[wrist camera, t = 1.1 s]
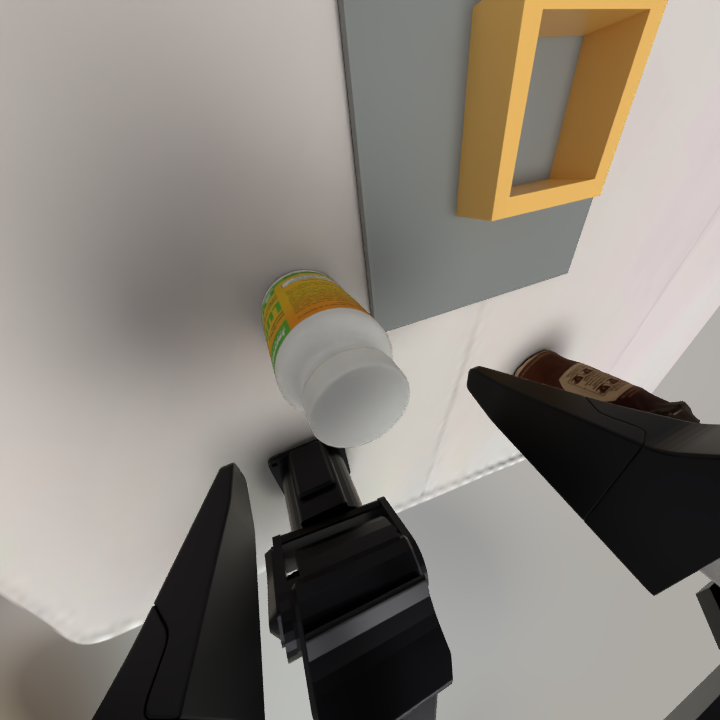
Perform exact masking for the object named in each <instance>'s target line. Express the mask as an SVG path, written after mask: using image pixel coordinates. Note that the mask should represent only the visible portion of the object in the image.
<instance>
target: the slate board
mask: <svg viewBox="0 0 720 720" xmlns="http://www.w3.org/2000/svg"><path fill="white" fill-rule="evenodd" d="M480 1H482V0H338V7H339V16H340V26H341V35H342V44H343V54H344V63H345V73H346V82H347V92H348V101H349V111H350V120H351V130H352V139H353V149H354V158H355V168H356V177H357V187H358V196H359V205H360V215H361V224H362V234H363V243H364V253H365V262H366V272H367V281H368V291H369V300H370V310H371V316H372V317H373V318H374V319H375V320H376V321H377V322H378V323H379V324H380V326H381V327H382V328H383V329H384V331H385V332H387V331H390V330H393V329H396V328H399V327H402V326H405V325H408V324H411V323H415V322H418V321H421V320H424V319H427V318H430V317H433V316H436V315H439V314H442V313H446V312H449V311H452V310H455V309H458V308H461V307H464V306H467V305H470V304H473V303H476V302H480V301H483V300H486V299H489V298H492V297H495V296H498V295H501V294H504V293H507V292H511V291H514V290H517V289H520V288H523V287H526V286H529V285H532V284H535V283H538V282H542V281H545V280H548V279H551V278H554V277H557V276H560V275H563V274H566V273H568V271H569V268H570V265H571V262H572V259H573V256H574V253H575V250H576V247H577V244H578V241H579V238H580V235H581V232H582V229H583V226H584V223H585V220H586V217H587V214H588V211H589V208H590V205H591V202H592V199H593V197H592V198H587V199H583V200H579V201H575V202H571V203H566V204H562V205H558V206H554V207H550V208H545V209H541V210H537V211H533V212H529V213H524V214H520V215H516V216H512V217H508V218H503V219H499V220H495V221H486V220H480V219H473V218H467V217H461V216H456V210H457V198H458V185H459V173H460V160H461V148H462V136H463V123H464V111H465V98H466V86H467V74H468V61H469V49H470V36H471V24H472V12H473V6H475V5H476V4H478V3H479V2H480ZM583 38H584V36H563V37H538V40H537V45H536V51H535V57H534V62H533V68H532V73H531V79H530V85H529V90H528V96H527V101H526V107H525V113H524V118H523V124H522V129H521V135H520V141H519V146H518V152H517V157H516V163H515V169H514V174H513V180H512V186H517V185H522V184H527V183H532V182H537V181H542V180H547V179H549V177H550V173H551V169H552V164H553V160H554V156H555V152H556V148H557V144H558V140H559V136H560V132H561V128H562V124H563V119H564V115H565V111H566V107H567V103H568V99H569V95H570V91H571V87H572V83H573V79H574V74H575V70H576V66H577V62H578V58H579V54H580V50H581V46H582V42H583ZM512 186H511V187H512Z"/></svg>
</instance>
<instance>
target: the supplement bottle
mask: <svg viewBox="0 0 720 720" xmlns="http://www.w3.org/2000/svg"><path fill="white" fill-rule="evenodd" d="M261 318H262V324H263V328H264V332H265V336H266V340H267V344H268V349H269V353H270V357H271V361H272V365H273V369H274V373H275V377H276V380H277V383H278V386H279V389H280V391H281V393H282V395H283V397H284V398H285V399H286V400H287V402H288V403H289V404H290V405H291V406H293V407H294V408H295V409H297V410H298V411H300V412H302V413H304V414H306V417H307V420H308V423H309V425H310V428H311V430H312V432H313V434H314V435H315V436H316V437H317V439H318V440H320V441H321V442H323V443H324V444H326V445H329V446H332V447H338V448H350V447H356V446H360V445H363V444H366V443H368V442H371V441H373V440H375V439H376V438H378V437H380V436H381V435H383V434H384V433H386V432H387V431H388V430H389V429H391V428H392V427H393V426H394V425H395V423H396V422H397V421H398V420H399V419H400V417H401V416H402V414H403V413H404V411H405V409H406V407H407V404H408V401H409V395H410V388H409V383H408V381H407V378H406V377H405V375H404V374H403V372H402V371H401V370H400V369H399V368H398V366H397V365H396V364H395V363H394V361H393V353H392V346H391V343H390V340H389V337H388V335H387V334H386V332H385V331H384V329H383V328H382V327H381V326H380V324H379V323H378V322H377V321H376V320H375V319H374V318H373V317H372V316H371V315H370V314H369V313H368V312H367V311H366V310H365V309H364V308H362V307H361V306H360V305H359V304H358V303H357V302H356V301H355V300H354V299H353V298H352V297H351V296H350V295H349V294H348V293H346V292H345V291H344V290H343V289H342V288H341V287H340V286H339V285H338V284H337V283H336V282H335V281H334V280H333V279H331V278H330V277H328V276H327V275H325V274H323V273H320V272H317V271H312V270H298V271H294V272H290V273H288V274H286V275H284V276H282V277H280V278H279V279H278V280H276V281H275V282H274V283H273V284H272V285H271V286H270V288H269V289H268V290H267V292H266V294H265V296H264V299H263V302H262V307H261Z"/></svg>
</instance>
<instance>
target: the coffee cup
mask: <svg viewBox="0 0 720 720" xmlns="http://www.w3.org/2000/svg"><path fill="white" fill-rule="evenodd" d="M514 376H517V377H520V378H524V379H527V380H530V381H534V382H537V383H541V384H544V385H548V386H551V387H555V388H558V389H562V390H565V391H569V392H572V393H576V394H579V395H583V396H584V397H585V396H587V397H590V398H593V399H597V400H601V401H604V402H608V403H612V404H615V405H619V406H623V407H627V408H632V409H636V410H640V411H644V412H649V413H653V414H657V415H661V416H666V417H670V418H674V419H679V420H683V421H688V422H693V423H699V422H700V420H698V419H697V418H696V417H695V416H694V415H693V414H692V411H691V409H690V407H689V406H688V405H687V404H686V403H685V402H683V401H680V402H671V403H670V402H668V401H666V400H663V399H661V398H659V397H657V396H654V395H653V394H651V393H649V392H647V391H646V390H644V389H643V388H641V387H638V386H635V385H632V384H630V383H628V382H626V381H623V380H621V379H619V378H617V377H614V376H612V375H610V374H607V373H604V372H602V371H600V370H597V369H595V368H593V367H590V366H588V365H585V364H583V363H579V362H576V361H572V360H568V359H566V358H563V357H561V356H560V355H558V354H557V353H555V352H552V351H550V350H546V351H543V352H540V353H538V354H536V355H534V356H533V357H531V358H530V359H528V360H527V361H526V362H525V363H524V364H523V365H522V366H521V367H520V368H519V369H518V370H517V371H516V373H515V375H514Z"/></svg>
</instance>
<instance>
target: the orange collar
mask: <svg viewBox="0 0 720 720" xmlns="http://www.w3.org/2000/svg"><path fill="white" fill-rule="evenodd" d="M667 1H668V0H482V1H480V2H479V3H478V4H476V5H475V6H473V12H472V24H471V36H470V49H469V61H468V74H467V86H466V98H465V111H464V123H463V136H462V148H461V160H460V173H459V185H458V198H457V210H456V216H461V217H467V218H473V219H480V220H486V221H495V220H499V219H503V218H508V217H512V216H516V215H520V214H524V213H529V212H533V211H537V210H541V209H545V208H550V207H554V206H558V205H562V204H566V203H571V202H575V201H579V200H583V199H587V198H592V197H596V196H600V194H601V191H602V188H603V185H604V183H605V180H606V177H607V174H608V171H609V168H610V165H611V162H612V160H613V157H614V154H615V151H616V148H617V145H618V142H619V139H620V137H621V134H622V131H623V128H624V125H625V122H626V119H627V116H628V114H629V111H630V108H631V105H632V102H633V99H634V96H635V93H636V91H637V88H638V85H639V82H640V79H641V76H642V73H643V70H644V68H645V65H646V62H647V59H648V56H649V53H650V50H651V47H652V45H653V42H654V39H655V36H656V33H657V30H658V27H659V24H660V22H661V19H662V16H663V13H664V10H665V7H666V4H667ZM563 36H584V38H583V42H582V46H581V50H580V54H579V58H578V62H577V66H576V70H575V74H574V79H573V83H572V87H571V91H570V95H569V99H568V103H567V107H566V111H565V115H564V119H563V124H562V128H561V132H560V136H559V140H558V144H557V148H556V152H555V156H554V160H553V164H552V169H551V173H550V177H549V179H547V180H542V181H537V182H532V183H527V184H522V185H517V186H512V180H513V174H514V169H515V163H516V157H517V152H518V146H519V141H520V135H521V129H522V124H523V118H524V113H525V107H526V101H527V96H528V90H529V85H530V79H531V73H532V68H533V62H534V57H535V51H536V45H537V40H538V37H563ZM511 186H512V187H511Z"/></svg>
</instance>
